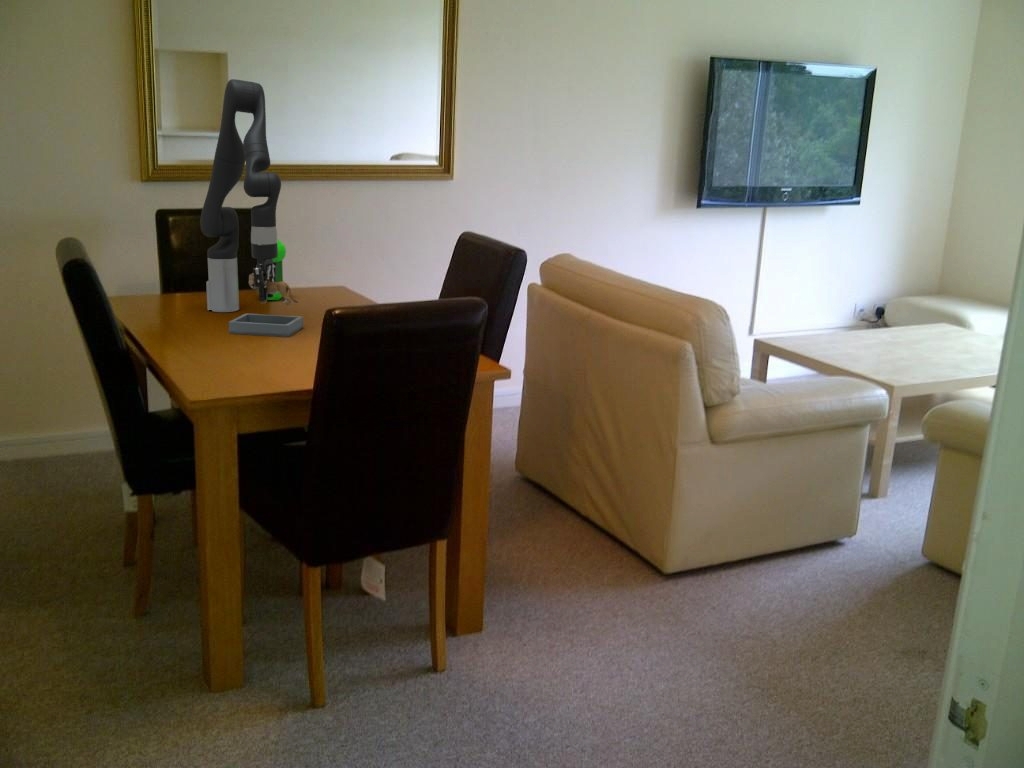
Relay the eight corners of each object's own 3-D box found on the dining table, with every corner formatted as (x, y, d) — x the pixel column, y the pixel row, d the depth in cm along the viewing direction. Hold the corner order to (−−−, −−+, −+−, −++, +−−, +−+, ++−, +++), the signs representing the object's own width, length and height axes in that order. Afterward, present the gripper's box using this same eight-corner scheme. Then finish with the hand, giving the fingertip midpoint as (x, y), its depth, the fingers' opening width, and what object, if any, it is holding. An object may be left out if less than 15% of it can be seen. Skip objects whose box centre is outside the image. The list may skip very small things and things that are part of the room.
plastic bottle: (253, 297, 362) (251, 225, 355) (283, 296, 366) (281, 224, 359) (259, 302, 353) (257, 229, 346) (290, 301, 357) (288, 228, 351)
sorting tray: (229, 333, 306) (228, 322, 305) (246, 324, 319) (245, 313, 318) (288, 337, 304) (288, 325, 303) (303, 328, 317) (303, 316, 316)
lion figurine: (246, 304, 307) (245, 273, 305) (252, 301, 312) (251, 271, 310) (296, 306, 306) (295, 275, 304) (300, 302, 311) (299, 273, 309)
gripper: (260, 238, 312) (262, 294, 316) (242, 244, 298) (245, 302, 303) (284, 239, 311) (286, 295, 316) (268, 245, 297) (270, 303, 302)
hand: (266, 298), depth 309 cm, fingers closed on lion figurine, 4 cm apart
